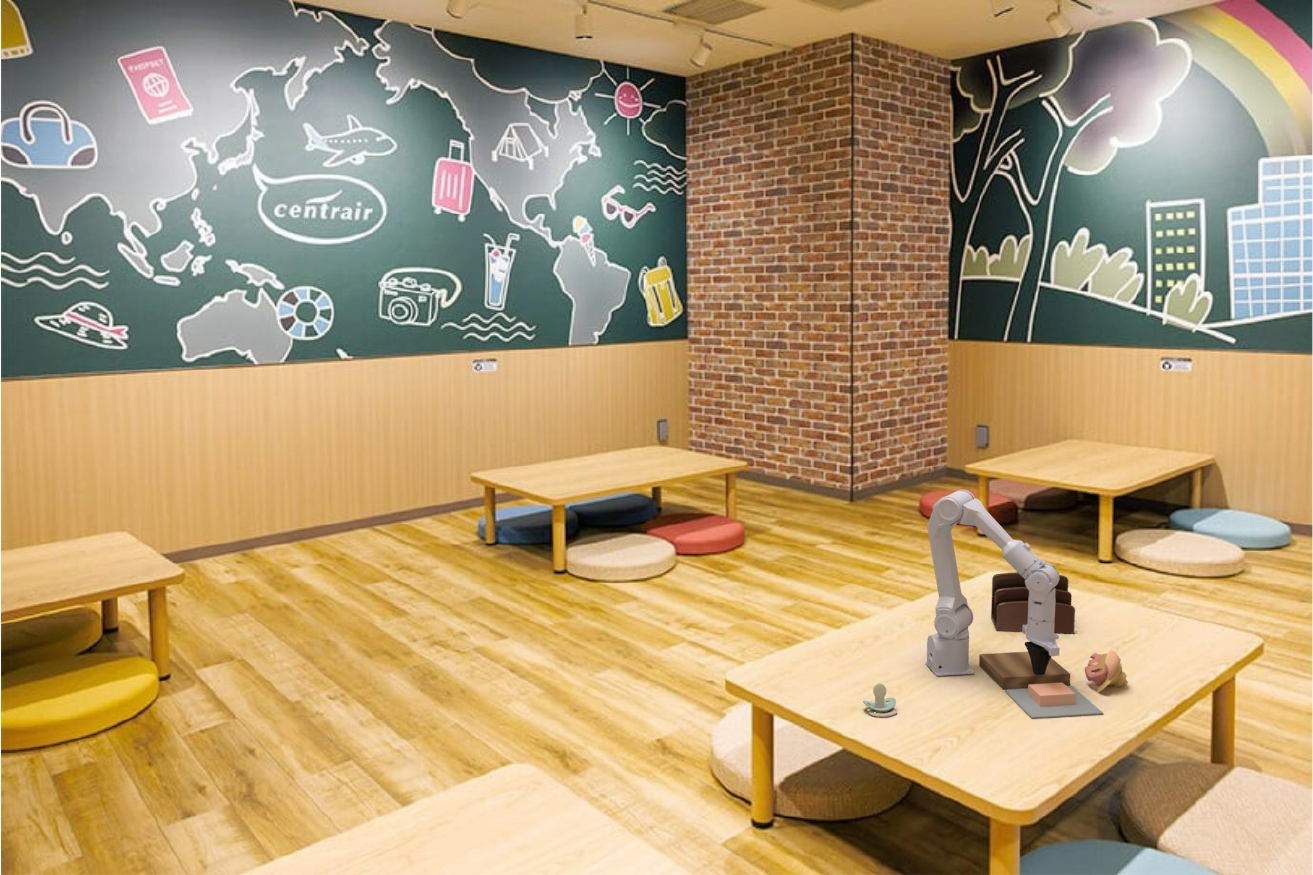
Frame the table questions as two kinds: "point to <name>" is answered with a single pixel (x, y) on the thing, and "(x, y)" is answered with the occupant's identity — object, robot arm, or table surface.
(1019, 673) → the step
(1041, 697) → the tile
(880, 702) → the pacifier
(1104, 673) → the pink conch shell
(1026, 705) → the mat
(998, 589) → the letter holder
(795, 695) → the table surface
